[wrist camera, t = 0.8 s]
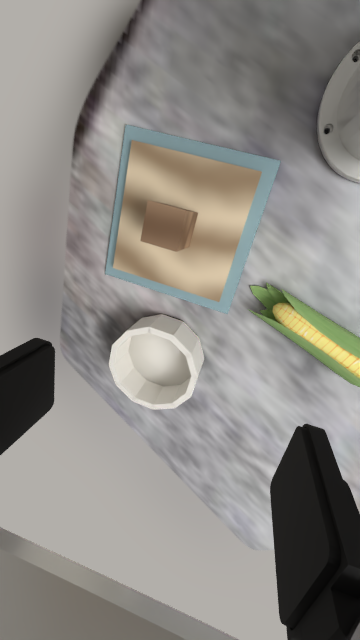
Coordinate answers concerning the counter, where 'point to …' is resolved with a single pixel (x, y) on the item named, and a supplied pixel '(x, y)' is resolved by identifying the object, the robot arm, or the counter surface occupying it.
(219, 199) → the lid
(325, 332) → the edible corn
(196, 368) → the bowl
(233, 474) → the counter surface
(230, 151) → the mat
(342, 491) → the robot arm
